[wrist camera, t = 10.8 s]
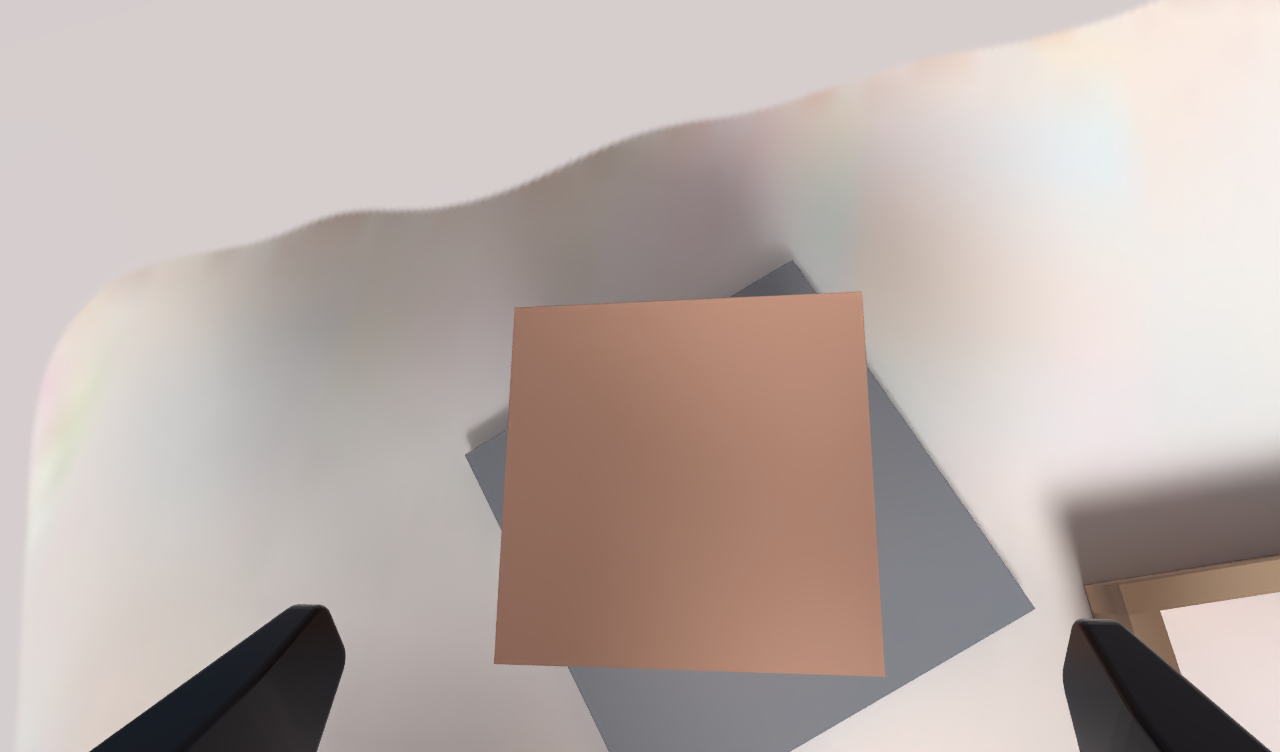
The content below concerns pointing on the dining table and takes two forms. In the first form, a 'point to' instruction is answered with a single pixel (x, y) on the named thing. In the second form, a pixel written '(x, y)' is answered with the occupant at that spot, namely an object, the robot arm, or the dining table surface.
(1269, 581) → the walnut well
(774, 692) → the slate pad
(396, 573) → the dining table surface
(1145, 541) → the dining table surface
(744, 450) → the terracotta block
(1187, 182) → the dining table surface
